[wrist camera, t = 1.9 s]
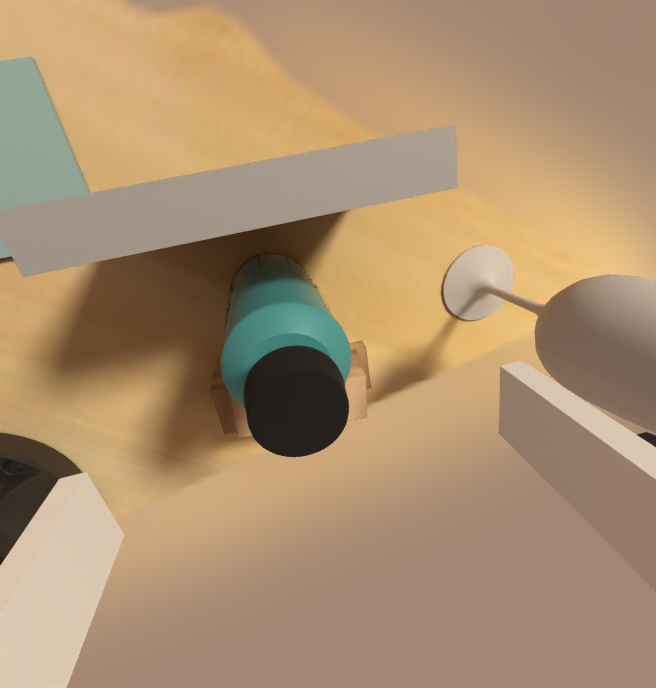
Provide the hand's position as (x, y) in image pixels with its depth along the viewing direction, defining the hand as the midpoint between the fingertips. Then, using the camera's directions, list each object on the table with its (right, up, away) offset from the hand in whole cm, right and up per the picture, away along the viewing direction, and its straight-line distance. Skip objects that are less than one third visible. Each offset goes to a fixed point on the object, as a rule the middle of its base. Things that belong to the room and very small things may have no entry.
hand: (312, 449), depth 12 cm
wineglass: (+15, +9, +23) cm, 29 cm away
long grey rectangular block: (-6, +15, +17) cm, 23 cm away
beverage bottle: (-4, +8, +20) cm, 22 cm away
